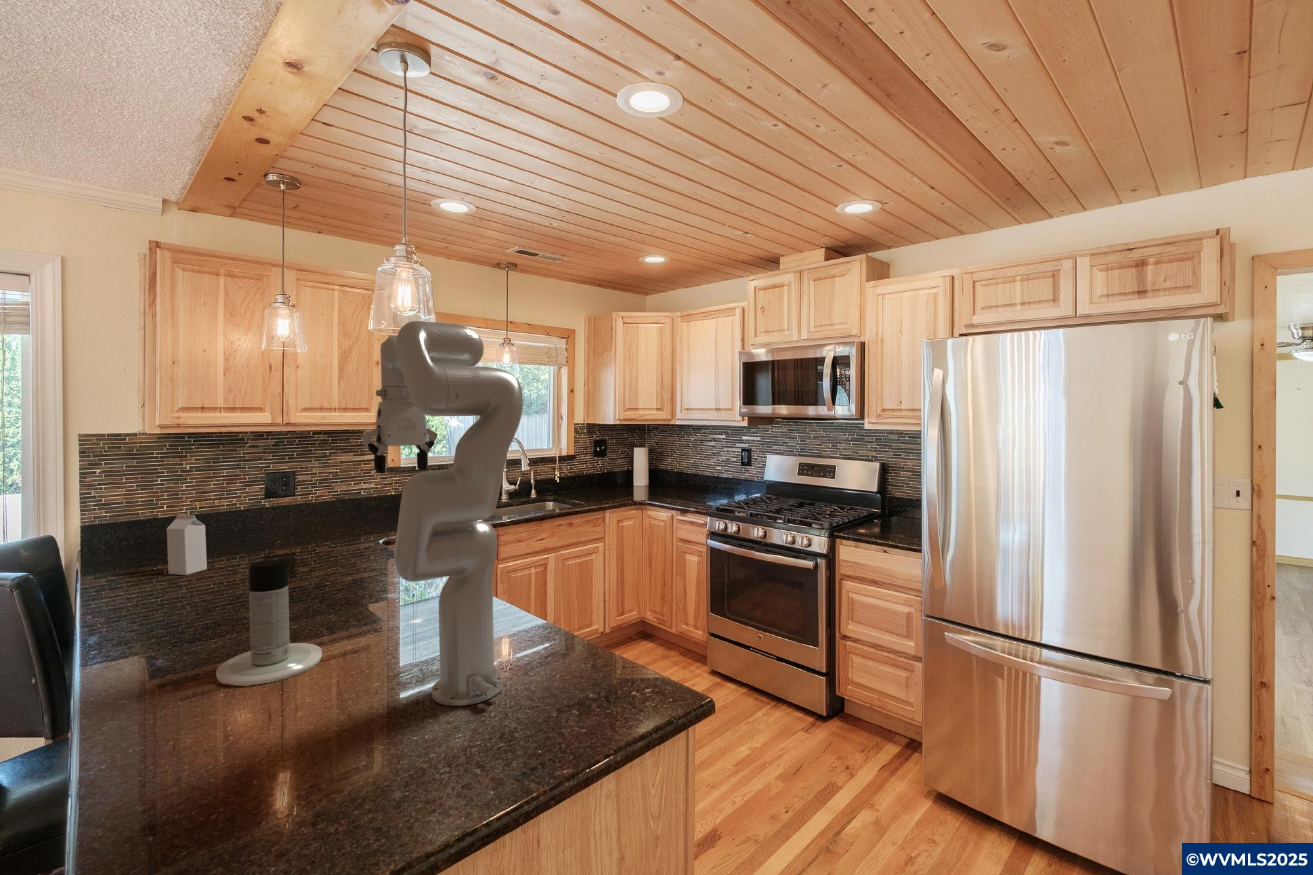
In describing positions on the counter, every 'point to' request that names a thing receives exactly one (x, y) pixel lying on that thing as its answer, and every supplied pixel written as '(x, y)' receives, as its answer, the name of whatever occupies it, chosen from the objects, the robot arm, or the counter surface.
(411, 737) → the counter surface
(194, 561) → the milk carton
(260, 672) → the dish
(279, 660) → the spray can
